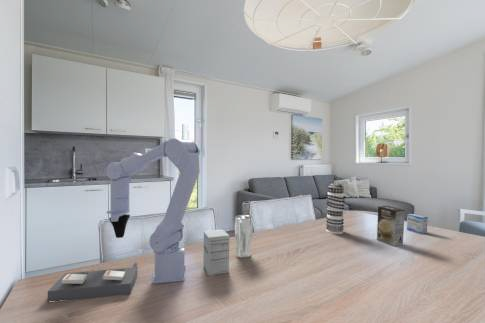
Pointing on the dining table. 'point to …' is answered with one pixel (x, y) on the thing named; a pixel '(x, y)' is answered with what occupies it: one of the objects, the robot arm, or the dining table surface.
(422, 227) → the medicine box
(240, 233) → the silver metal canister
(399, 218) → the coffee box
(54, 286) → the switch panel
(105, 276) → the rocker
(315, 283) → the dining table surface
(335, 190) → the striped tower model
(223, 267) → the supplement box
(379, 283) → the dining table surface
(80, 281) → the rocker
